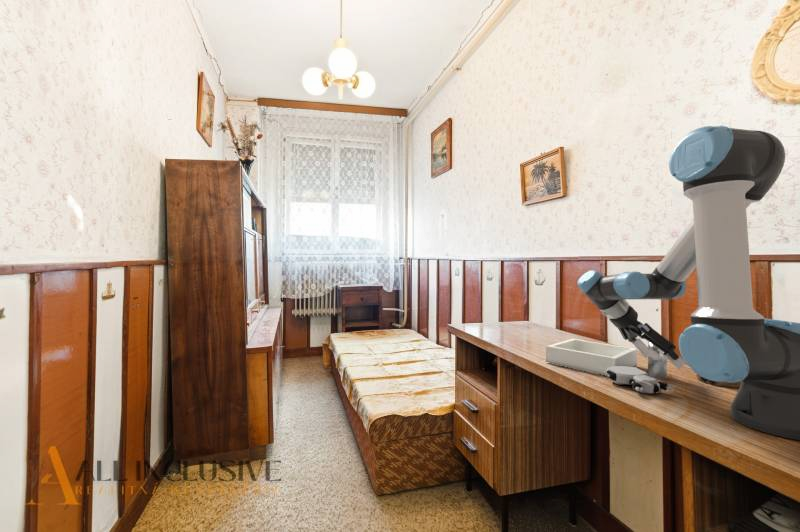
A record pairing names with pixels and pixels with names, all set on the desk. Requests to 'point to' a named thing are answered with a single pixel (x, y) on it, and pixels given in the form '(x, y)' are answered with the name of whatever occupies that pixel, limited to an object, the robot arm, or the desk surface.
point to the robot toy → (635, 379)
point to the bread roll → (724, 384)
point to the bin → (590, 355)
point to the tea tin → (656, 362)
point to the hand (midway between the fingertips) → (664, 359)
